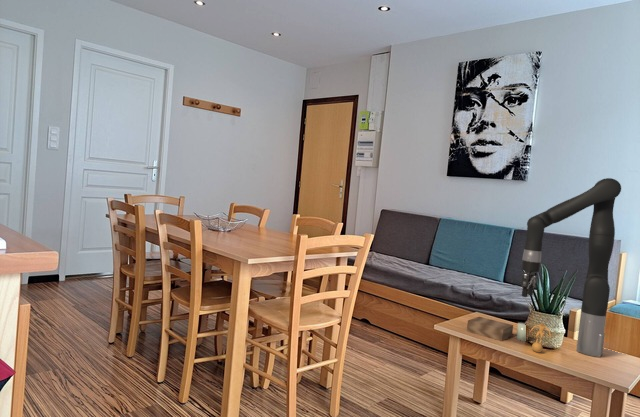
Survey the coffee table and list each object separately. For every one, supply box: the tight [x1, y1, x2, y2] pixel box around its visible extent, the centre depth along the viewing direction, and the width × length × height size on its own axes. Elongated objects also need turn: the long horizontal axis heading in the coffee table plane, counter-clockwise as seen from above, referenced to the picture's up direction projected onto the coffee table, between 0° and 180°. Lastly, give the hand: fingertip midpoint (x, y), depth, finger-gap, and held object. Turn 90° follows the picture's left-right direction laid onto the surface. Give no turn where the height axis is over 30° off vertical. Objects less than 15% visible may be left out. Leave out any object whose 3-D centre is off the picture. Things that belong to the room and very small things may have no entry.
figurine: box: [529, 322, 552, 353], centre depth 187 cm, size 8×6×12 cm
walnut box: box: [466, 316, 514, 342], centre depth 208 cm, size 16×14×5 cm
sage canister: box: [515, 322, 526, 342], centre depth 203 cm, size 5×5×7 cm
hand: (527, 295), depth 203 cm, fingers open, 8 cm apart
